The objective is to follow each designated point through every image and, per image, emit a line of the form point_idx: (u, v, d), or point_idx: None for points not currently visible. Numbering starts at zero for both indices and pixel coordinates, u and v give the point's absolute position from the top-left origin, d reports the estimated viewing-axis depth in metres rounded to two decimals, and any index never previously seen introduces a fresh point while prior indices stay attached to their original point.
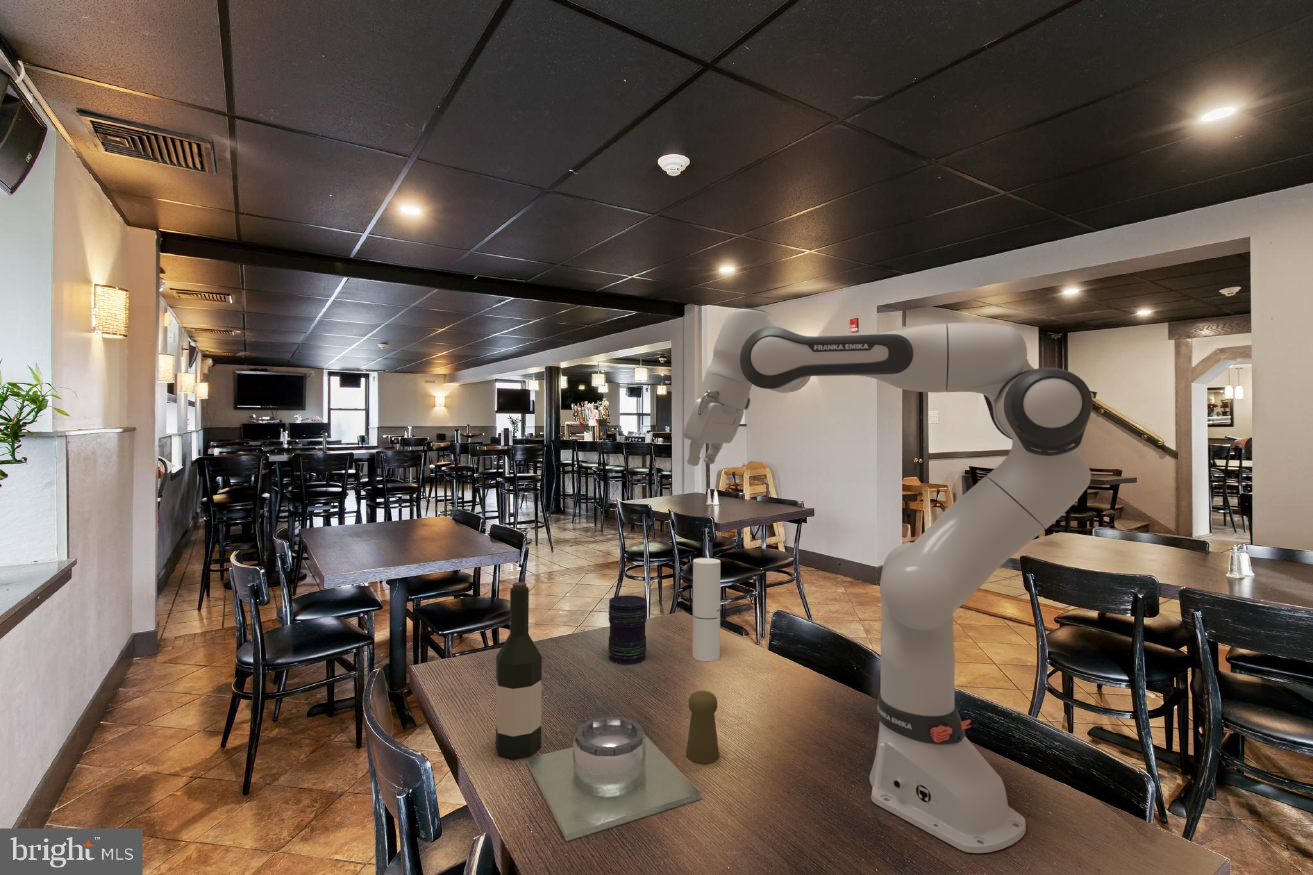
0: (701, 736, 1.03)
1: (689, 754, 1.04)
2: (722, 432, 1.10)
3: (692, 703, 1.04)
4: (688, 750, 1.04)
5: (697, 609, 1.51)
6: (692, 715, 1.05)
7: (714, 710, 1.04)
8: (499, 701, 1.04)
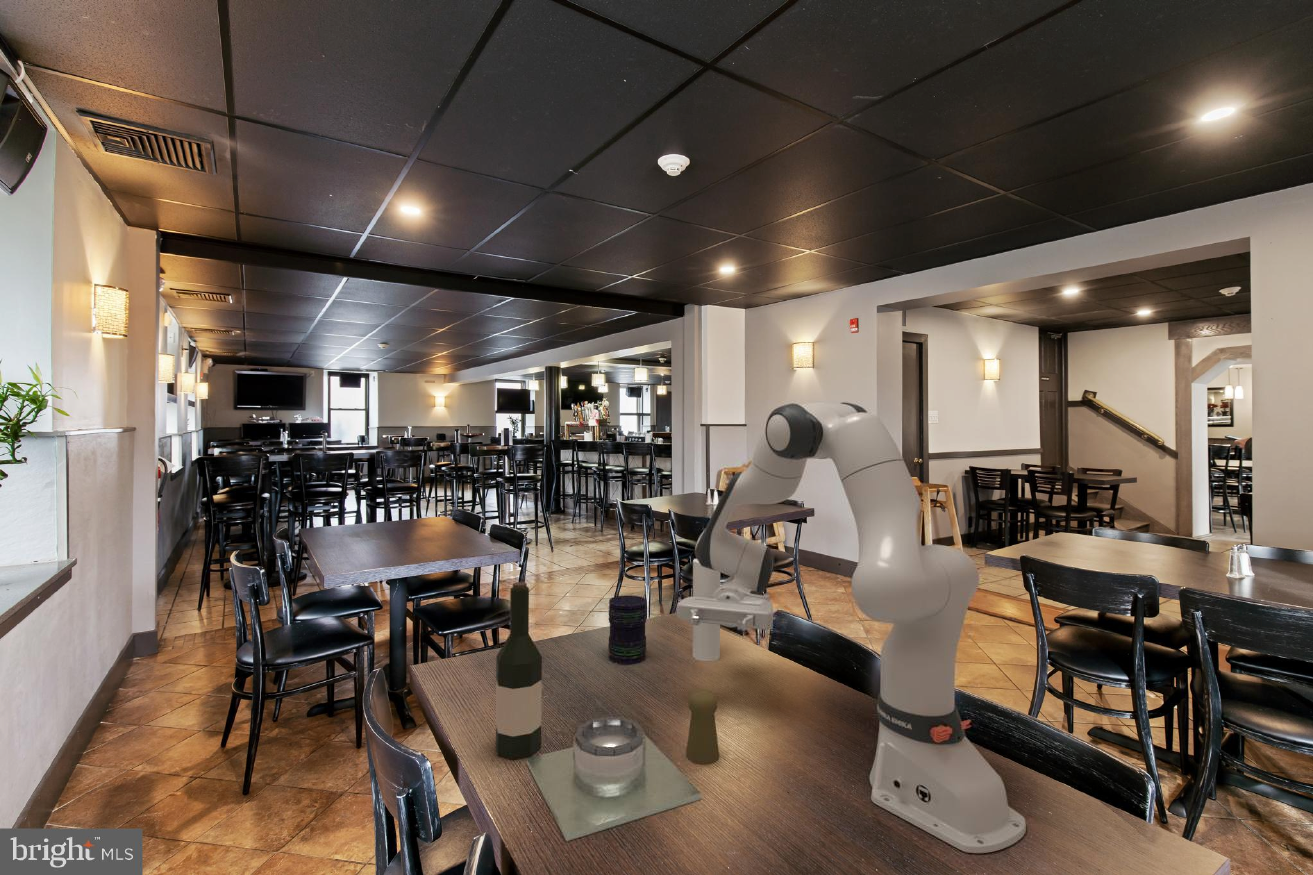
0: (701, 736, 1.03)
1: (689, 754, 1.04)
2: (730, 605, 1.23)
3: (692, 703, 1.04)
4: (688, 750, 1.04)
5: None
6: (692, 715, 1.05)
7: (714, 710, 1.04)
8: (499, 701, 1.04)
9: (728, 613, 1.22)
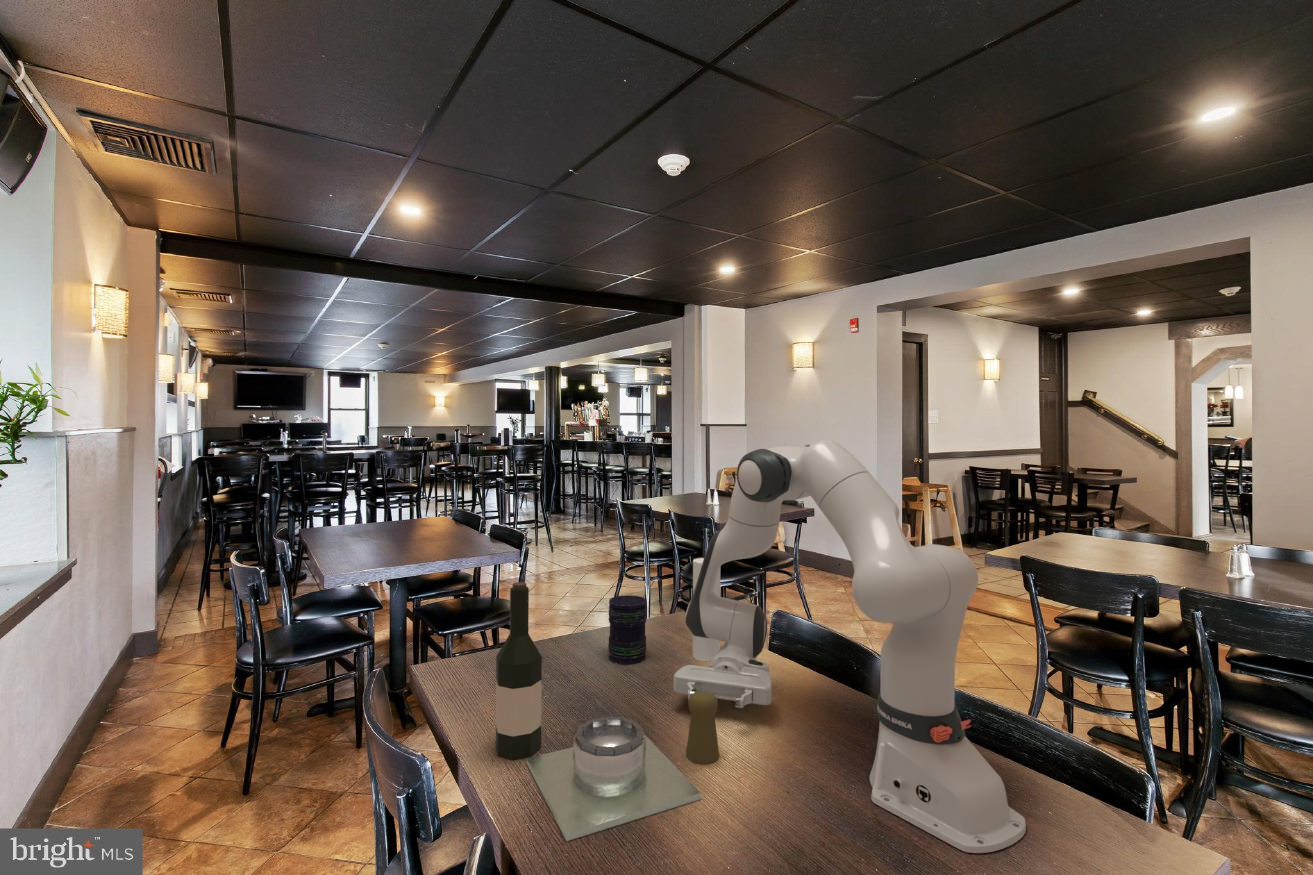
0: (701, 736, 1.03)
1: (689, 754, 1.04)
2: (728, 678, 1.20)
3: (692, 703, 1.04)
4: (688, 750, 1.04)
5: None
6: (692, 715, 1.05)
7: (714, 710, 1.04)
8: (499, 701, 1.04)
9: (726, 686, 1.19)
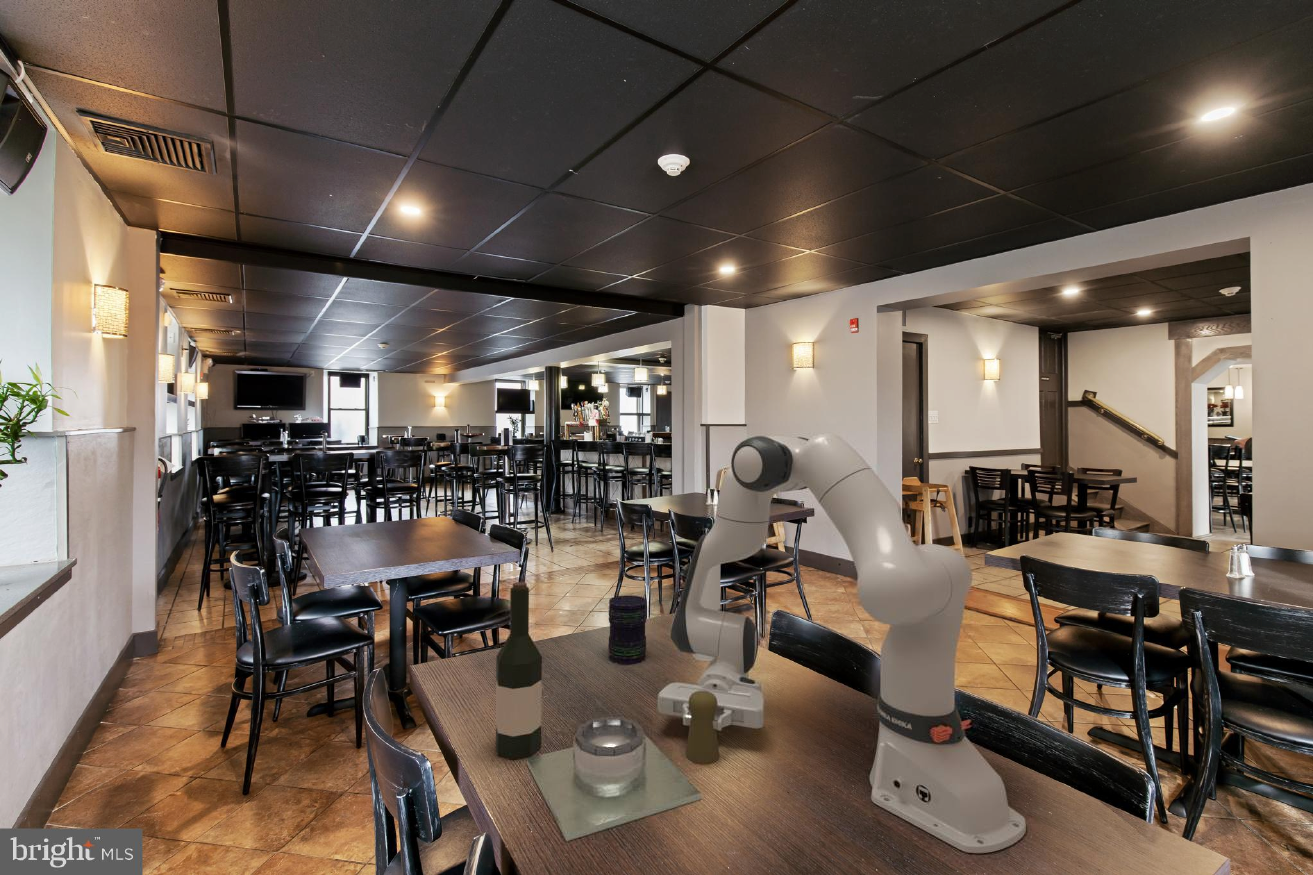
0: (701, 736, 1.03)
1: (689, 754, 1.04)
2: (717, 698, 1.11)
3: (692, 703, 1.04)
4: (688, 750, 1.04)
5: None
6: (692, 715, 1.05)
7: (714, 710, 1.04)
8: (499, 701, 1.04)
9: None
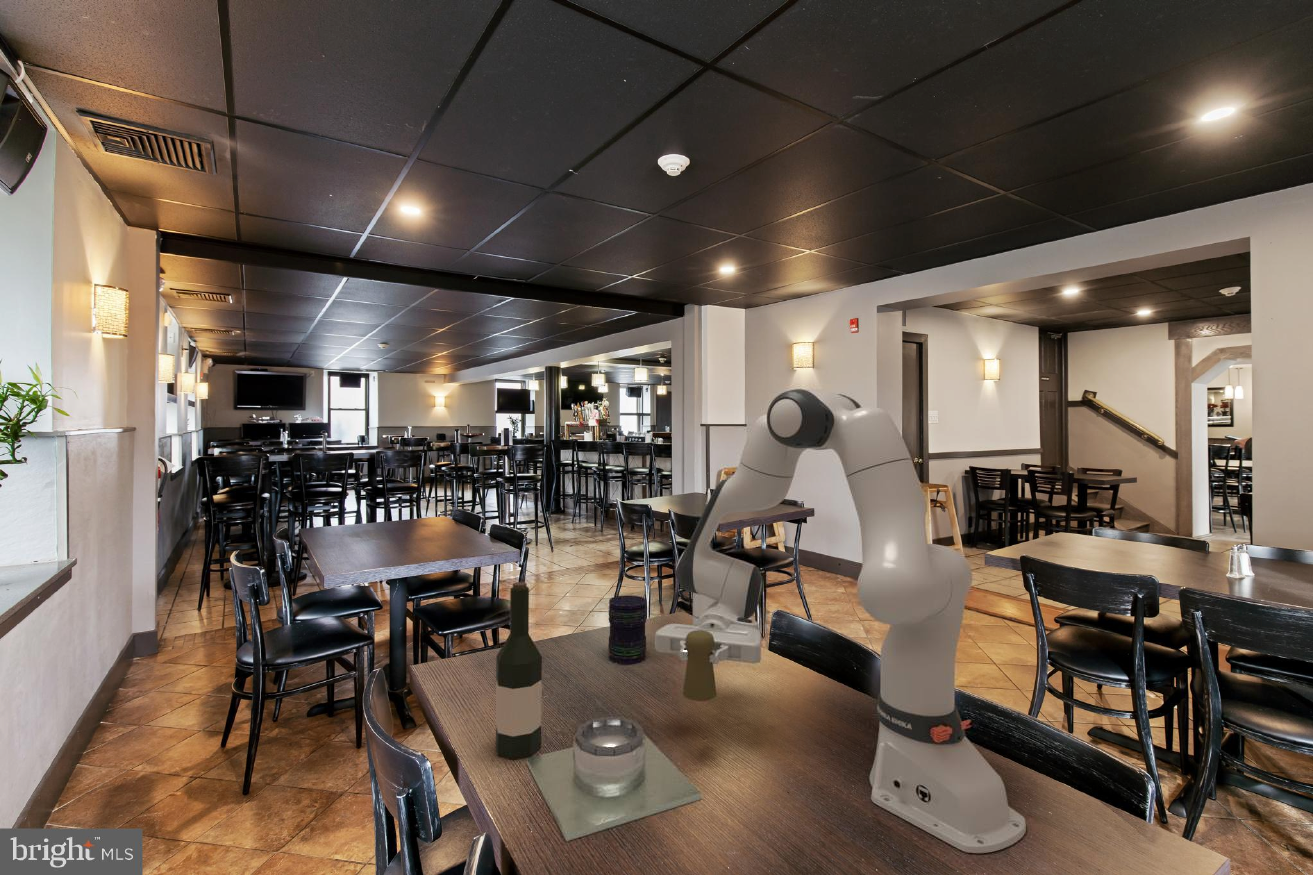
0: (698, 674, 1.03)
1: (687, 692, 1.04)
2: (714, 635, 1.10)
3: (690, 641, 1.03)
4: (685, 688, 1.04)
5: (697, 609, 1.51)
6: (689, 653, 1.04)
7: (711, 647, 1.04)
8: (499, 701, 1.04)
9: None
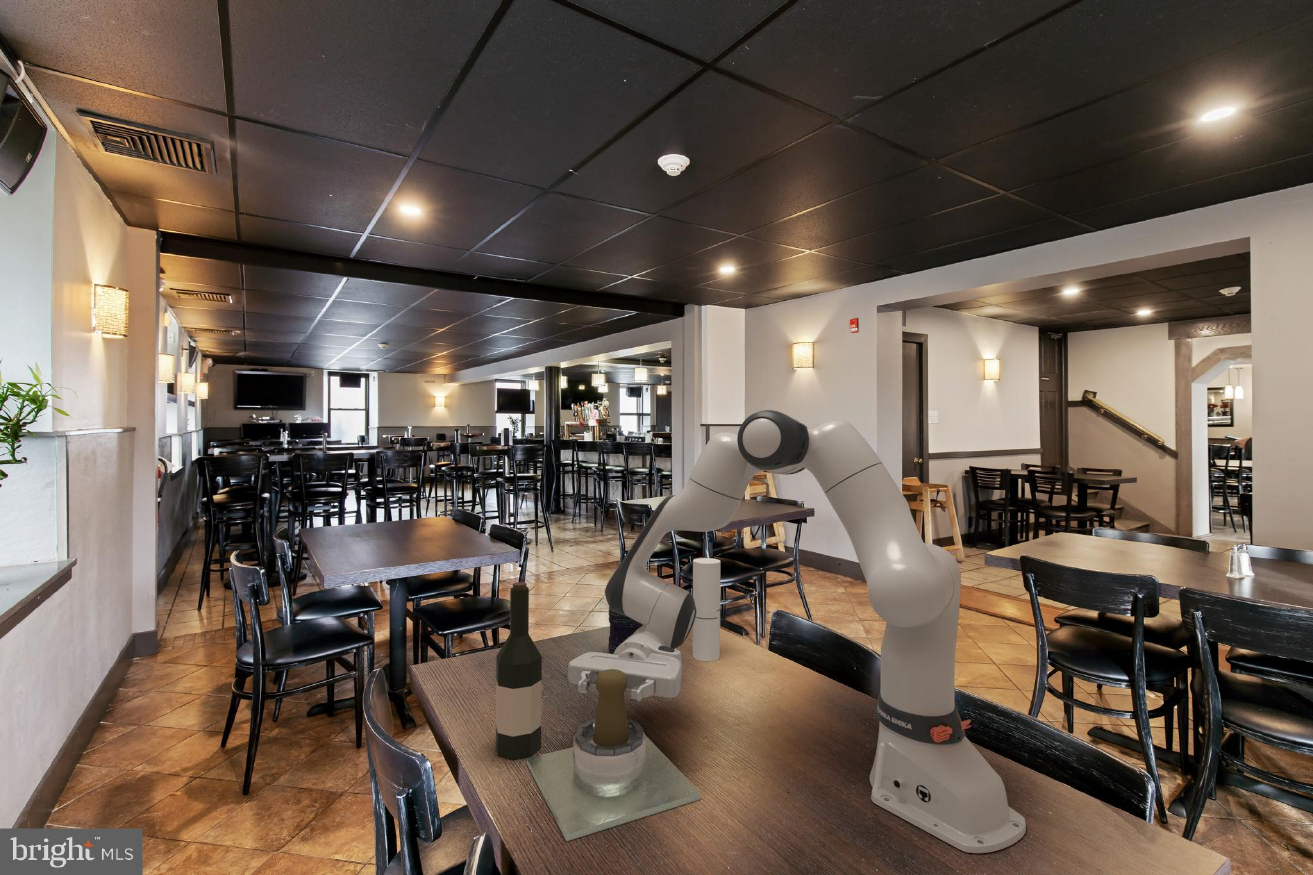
0: (607, 718, 0.95)
1: (595, 737, 0.96)
2: (630, 666, 1.03)
3: (599, 681, 0.96)
4: (594, 733, 0.96)
5: (697, 609, 1.51)
6: (599, 695, 0.96)
7: (623, 689, 0.96)
8: (499, 701, 1.04)
9: (626, 676, 1.01)
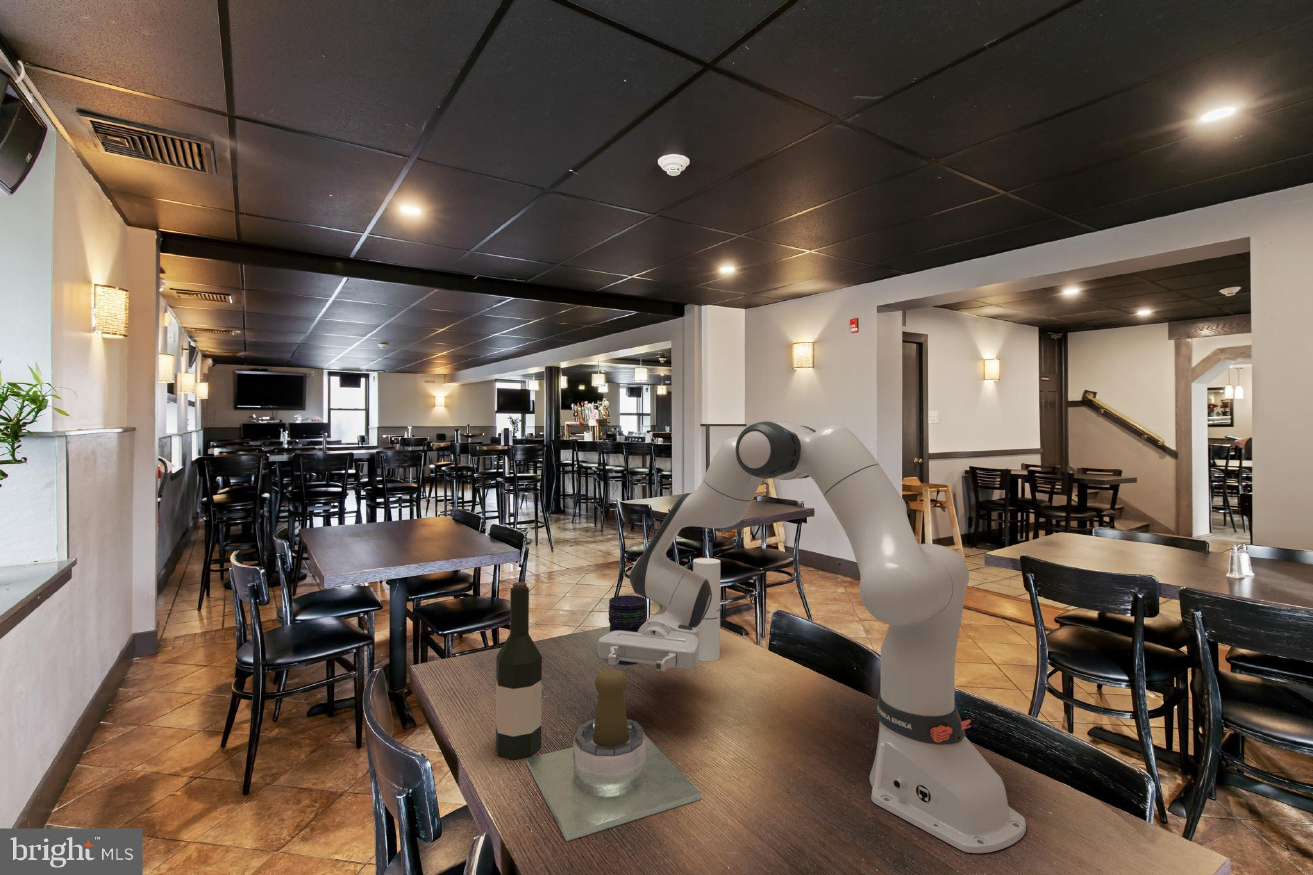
0: (607, 718, 0.95)
1: (595, 737, 0.96)
2: (653, 642, 1.15)
3: (599, 682, 0.96)
4: (594, 733, 0.96)
5: None
6: (599, 695, 0.96)
7: (622, 689, 0.96)
8: (499, 701, 1.04)
9: (651, 650, 1.13)
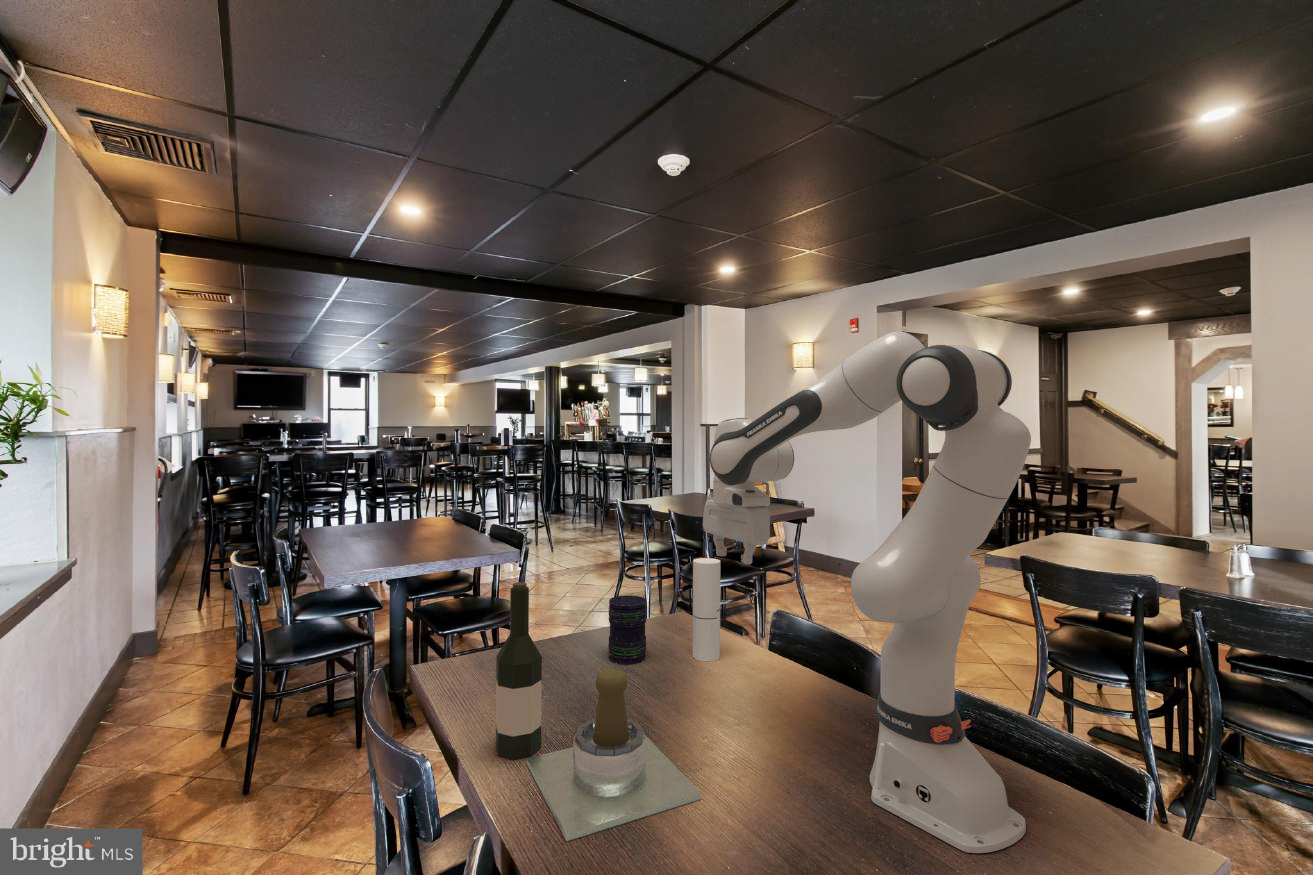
0: (608, 718, 0.95)
1: (595, 737, 0.96)
2: (730, 528, 1.23)
3: (599, 681, 0.96)
4: (595, 733, 0.96)
5: (697, 609, 1.51)
6: (599, 695, 0.96)
7: (623, 689, 0.96)
8: (499, 701, 1.04)
9: None
